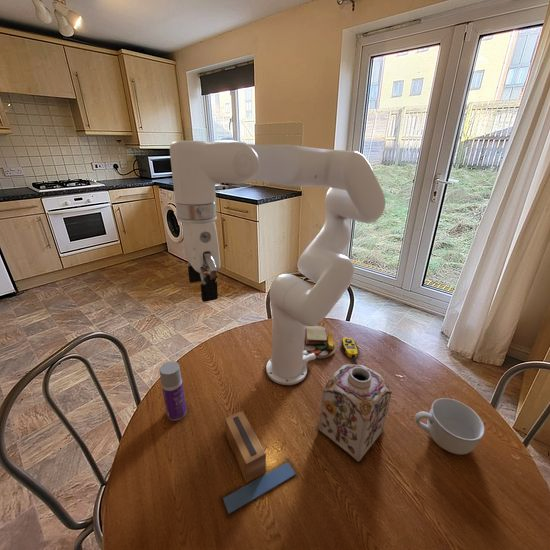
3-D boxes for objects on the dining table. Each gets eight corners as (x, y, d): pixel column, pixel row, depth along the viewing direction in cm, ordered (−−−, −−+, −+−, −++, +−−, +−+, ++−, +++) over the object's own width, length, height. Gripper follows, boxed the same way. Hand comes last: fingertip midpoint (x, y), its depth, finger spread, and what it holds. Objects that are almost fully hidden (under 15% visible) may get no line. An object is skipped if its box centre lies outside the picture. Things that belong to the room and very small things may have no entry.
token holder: (225, 435, 69) (224, 417, 67) (242, 428, 71) (242, 410, 69) (246, 482, 60) (246, 463, 57) (265, 472, 62) (265, 453, 59)
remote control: (353, 336, 103) (366, 366, 90) (353, 341, 104) (365, 370, 90) (340, 336, 103) (350, 365, 89) (339, 340, 104) (349, 370, 90)
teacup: (468, 428, 73) (477, 404, 70) (480, 469, 64) (492, 445, 60) (408, 411, 77) (414, 389, 74) (411, 448, 68) (419, 424, 64)
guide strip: (288, 462, 64) (288, 461, 64) (295, 475, 62) (295, 474, 62) (223, 499, 57) (222, 498, 57) (228, 514, 55) (228, 513, 55)
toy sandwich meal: (298, 357, 95) (298, 346, 93) (300, 333, 107) (301, 322, 105) (336, 362, 94) (338, 350, 92) (334, 336, 106) (336, 325, 104)
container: (180, 422, 72) (173, 376, 66) (163, 418, 73) (154, 373, 67) (189, 407, 77) (183, 362, 70) (173, 404, 77) (165, 359, 71)
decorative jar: (343, 402, 79) (352, 349, 72) (383, 430, 72) (398, 374, 64) (315, 429, 71) (322, 373, 64) (357, 464, 64) (371, 405, 56)
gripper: (231, 219, 51) (234, 304, 58) (202, 202, 65) (207, 272, 72) (188, 223, 48) (196, 313, 55) (167, 204, 61) (176, 278, 68)
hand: (202, 290), depth 63 cm, fingers open, 9 cm apart
